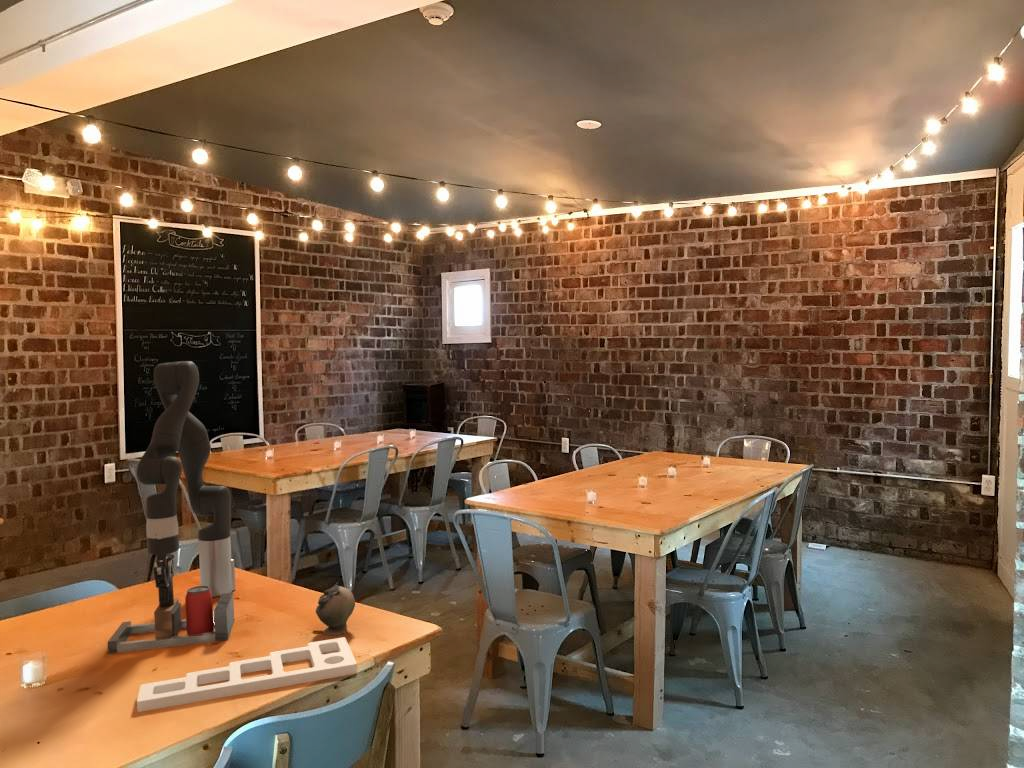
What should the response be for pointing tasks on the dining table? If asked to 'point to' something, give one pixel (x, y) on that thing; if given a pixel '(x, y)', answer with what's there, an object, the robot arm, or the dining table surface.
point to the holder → (188, 691)
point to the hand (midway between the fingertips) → (165, 598)
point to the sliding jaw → (168, 615)
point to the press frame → (222, 633)
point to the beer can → (199, 610)
